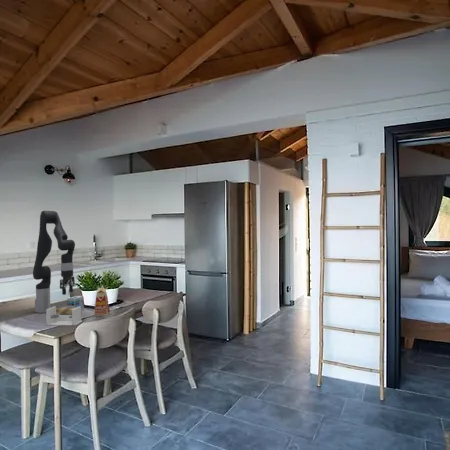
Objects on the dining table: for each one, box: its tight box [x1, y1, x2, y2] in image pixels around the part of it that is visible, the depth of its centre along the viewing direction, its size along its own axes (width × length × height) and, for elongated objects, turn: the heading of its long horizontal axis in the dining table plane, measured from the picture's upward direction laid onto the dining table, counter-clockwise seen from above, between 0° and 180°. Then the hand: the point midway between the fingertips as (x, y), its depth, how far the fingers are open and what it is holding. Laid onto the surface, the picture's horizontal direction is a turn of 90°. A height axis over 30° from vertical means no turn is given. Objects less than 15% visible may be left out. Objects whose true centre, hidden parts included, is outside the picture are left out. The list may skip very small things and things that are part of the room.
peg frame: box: [45, 305, 83, 326], centre depth 228 cm, size 20×9×10 cm, turn 84°
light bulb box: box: [66, 295, 85, 312], centre depth 258 cm, size 11×7×11 cm, turn 168°
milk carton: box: [93, 285, 111, 317], centre depth 249 cm, size 9×9×20 cm
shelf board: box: [56, 307, 75, 315], centre depth 238 cm, size 14×5×3 cm, turn 84°
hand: (67, 293), depth 238 cm, fingers open, 8 cm apart
